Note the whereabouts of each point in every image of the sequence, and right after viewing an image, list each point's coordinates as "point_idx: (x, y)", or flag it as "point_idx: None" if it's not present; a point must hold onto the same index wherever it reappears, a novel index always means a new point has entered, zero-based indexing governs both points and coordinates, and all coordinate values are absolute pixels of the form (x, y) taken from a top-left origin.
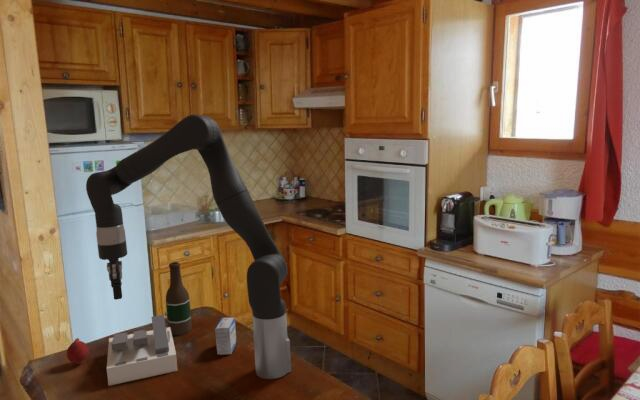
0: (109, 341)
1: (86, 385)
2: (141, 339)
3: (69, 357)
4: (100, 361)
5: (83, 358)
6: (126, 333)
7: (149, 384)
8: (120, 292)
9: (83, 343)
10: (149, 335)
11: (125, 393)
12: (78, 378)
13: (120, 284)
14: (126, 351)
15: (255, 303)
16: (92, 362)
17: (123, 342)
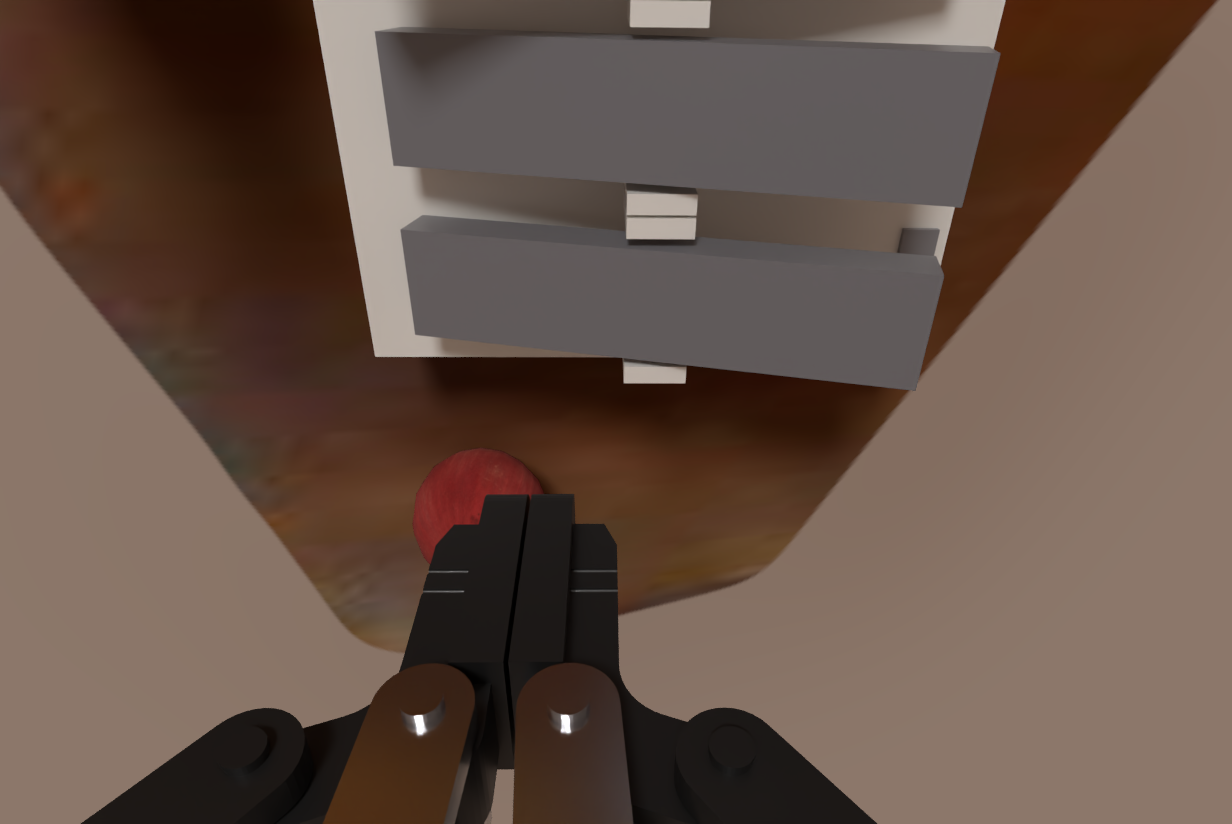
0: (443, 352)
1: (790, 415)
2: (981, 117)
3: None
4: (507, 359)
5: (529, 470)
6: (465, 239)
7: (1043, 37)
8: (568, 577)
9: (476, 521)
10: (709, 7)
11: (1043, 205)
12: (679, 457)
13: (810, 765)
14: (708, 225)
15: None
16: (501, 402)
17: (937, 295)
